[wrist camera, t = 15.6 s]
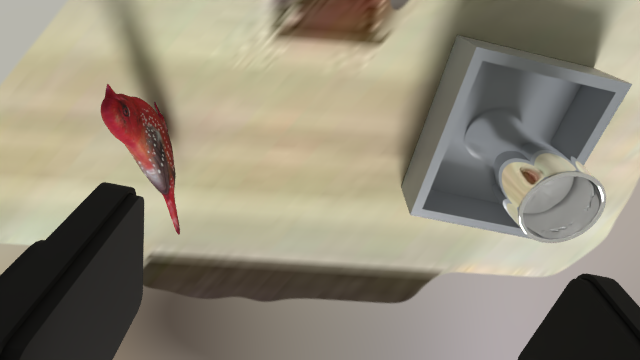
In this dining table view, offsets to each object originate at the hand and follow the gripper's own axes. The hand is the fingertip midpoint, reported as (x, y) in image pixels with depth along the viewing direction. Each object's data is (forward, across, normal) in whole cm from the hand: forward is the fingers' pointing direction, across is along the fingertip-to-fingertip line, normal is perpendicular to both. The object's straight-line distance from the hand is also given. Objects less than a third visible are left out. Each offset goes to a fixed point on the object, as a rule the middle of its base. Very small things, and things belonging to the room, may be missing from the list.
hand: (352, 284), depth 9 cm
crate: (+36, -20, +7) cm, 42 cm away
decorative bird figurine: (+36, +15, +16) cm, 43 cm away
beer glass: (+36, -20, +7) cm, 41 cm away
